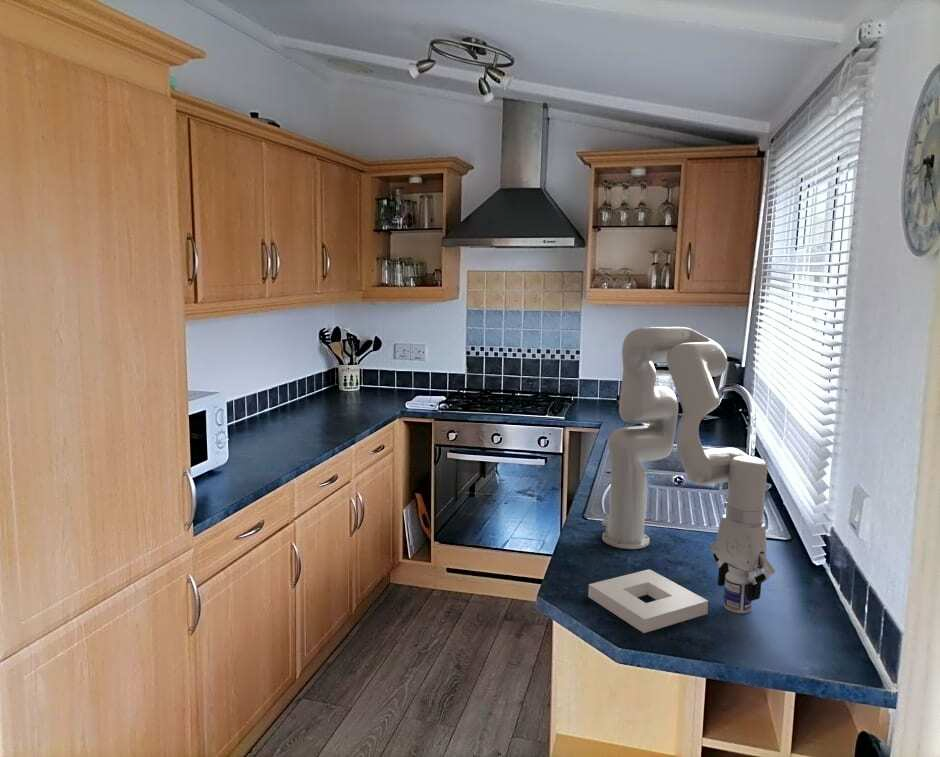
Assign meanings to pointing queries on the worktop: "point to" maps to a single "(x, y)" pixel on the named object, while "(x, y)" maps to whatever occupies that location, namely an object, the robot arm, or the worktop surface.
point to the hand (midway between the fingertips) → (738, 591)
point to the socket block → (649, 616)
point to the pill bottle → (736, 590)
